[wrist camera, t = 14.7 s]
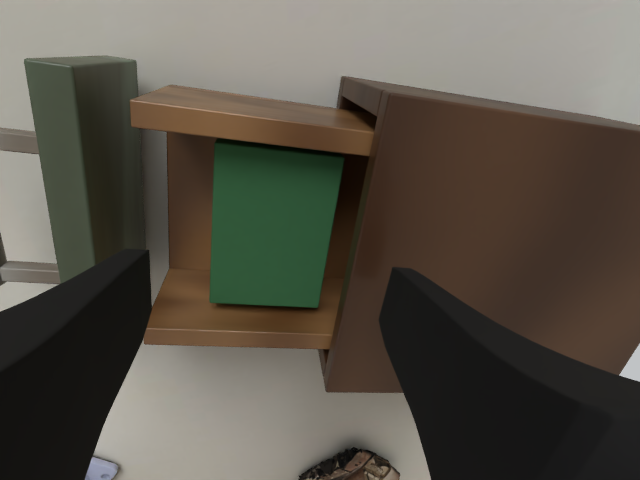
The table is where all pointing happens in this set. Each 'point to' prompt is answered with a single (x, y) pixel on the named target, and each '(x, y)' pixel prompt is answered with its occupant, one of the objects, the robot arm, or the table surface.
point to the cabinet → (492, 225)
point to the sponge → (271, 222)
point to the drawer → (173, 190)
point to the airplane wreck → (353, 467)
